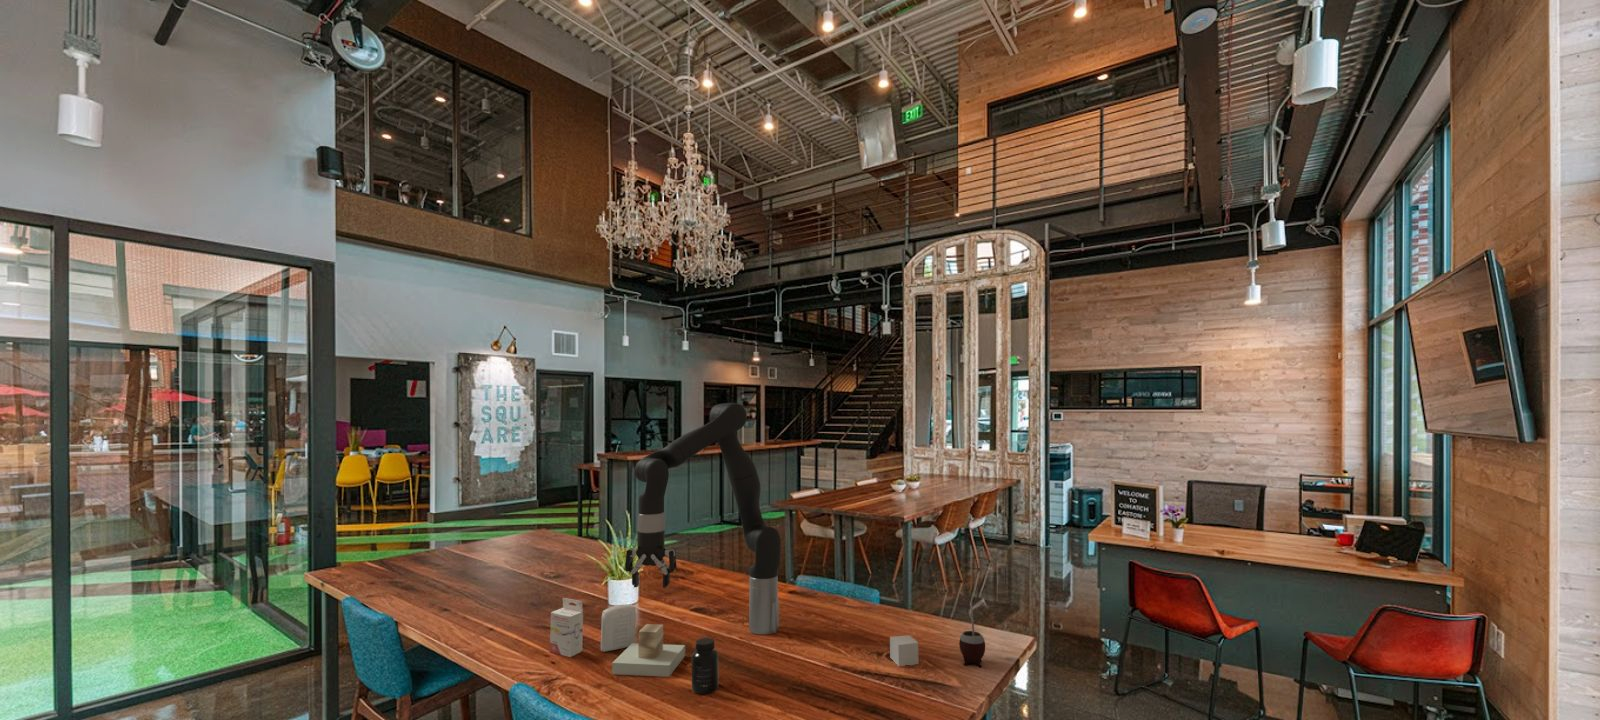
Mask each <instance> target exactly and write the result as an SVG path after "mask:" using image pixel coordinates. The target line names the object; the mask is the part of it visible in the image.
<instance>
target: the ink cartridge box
mask: <svg viewBox="0 0 1600 720" xmlns="http://www.w3.org/2000/svg"><path fill="white" fill-rule="evenodd" d="M572 603H573V604H575V605H573V604H572ZM571 604H572V605H571ZM583 622H584V610H583V602H582V601H581V600H576V599H572V598H566V597H563V598H562V607H561V608H558V609H556V610H553V611H551V612H550V633H549V634H550V636H549V637H550V638H549V653H551V654H555V655H560V656H564V657H569V658H572V657H574V656H576V655H577V654H579V653H582V652H583V638H584V637H583V633H584V631H583V630H584V625H583V624H584V623H583Z"/></svg>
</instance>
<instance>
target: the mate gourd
mask: <svg viewBox="0 0 1600 720" xmlns="http://www.w3.org/2000/svg"><path fill="white" fill-rule="evenodd" d="M969 607H970V617H971V619H970V620H971V630H966V631H963V632H962V633H961V635H960V636H959V642H958V644H959V645H958V646H959V651H960V653H961V655H962V657H963V666H964V667H968V666H971V665H973V666H974V667H977V668H978V669H980V668H982V665H981V663H982V661H983V660H982V659H983V657H984V655H985V653H986V642H985V638H984V635H982V633H980V632H978V631H976V630H975V625H974V624H975V621H974V619H975V618H974V615H975V614H974V608H973V602H969Z"/></svg>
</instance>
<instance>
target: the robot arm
mask: <svg viewBox="0 0 1600 720" xmlns="http://www.w3.org/2000/svg"><path fill="white" fill-rule="evenodd" d="M747 417H748V414H747V411H746V409H745V407H744V406H743V405H741V404H740V403H737V402H726V403H718V404H715V405H714V406H712V407H711V410H710V412H709V422H708V423H706V424H704V425H702V426H700V427H697V428H696V429H693V430H691V431H688V432H686V433H684V434H683V435H681V436H680V437H678V438H676V439H675V440H673V441H672V442H671V443H669V444H667V445H666V446H664V447H662V448H660V449H659V450H658V449H657V450H655V451H654V452H652V453H649V454H647V455H646V456H644V457H642V458H641V459H640V460H638V461H637V463H636V464H635V467H634V475H635V478H636V479H637V480H638V481H640V482H642V483H646V484H645V490H644V492H641V494H639V496H638V517H637V525H636V528H637V545H636V546H637V549H634V548H633V547H632V548H629V549H627V550H626V551H625V567H624V570H625V572H626V573H631V585H632V586H633V588H638V587H639V586H640V572H639V570H640V569H641V568H642V566H644V567H645V566H651V567H655V566H657V568H658V569H660V571H661V572H662V573H663V574H662V589H666V588H667V587H668V586H669V585H670V583H671V582H670V581H671V580H670V579H671V575H670V574H671V573H674V572H676V570H677V567H678V566H677V551H676V549H674V548H672V549H670V550H669V549H668V550H666V548H665V545H666V544H665V535H666V533H665V532H666V531H665V527H666V526H665V525H666V524H665V522H666V521H665V520H666V519H665V512H664V511H665V500H664V499H665V494H666V490H667V488H668V482H669V477H670V474H669V472H670V471H669V469H671V468H678V467H679V466H681V465H682V464H684V463H685V462H687V461H688V460H690V459H691V458H693V456H695V455H697V454H698V453H700V452H702V451H703V450H704V449H706V448H707V447H708V446H710V445H712V444H714V443H715V442H717V443H718V447H719V449H720V451H721V455H722V458H723V463H724V465H725V468H726V471H727V475H728V479H729V483H730V487H731V490H732V493H733V496H734V499H735V502H736V505H737V509H738V512H739V516H740V520H741V524H742V525H741V527H742V530H743V535H744V536H743V537H744V542H745V544H746V546H747V548H748V549H749V550H750V551H752V552H753V553H755V560H754V561H755V562H754V564H752V565H751V566H750V567H749V570H748V574H749V577H748V578H749V581H748V582H749V586H748V587H749V590H748V591H749V593H748V594H749V595H748V596H749V599H748V601H749V603H748V604H749V606H748V613H749V615H748V616H749V617H748V621H749V622H748V625H749V626H748V627H749V629H748V630H749V632H750V633H752V634H754V635H771V634H777V632H778V630H779V627H780V597H779V595H778V593H779V592H778V590H779V589H778V588H779V587H778V586H779V585H778V584H779V583H778V580H779V579H778V578H779V577H778V576H779V575H778V573H779V569H780V565H781V550H782V548H781V547H782V544H781V543H782V542H781V541H782V540H781V536H780V532H779V531H778V529H776V528H775V527H773V526H770V525H767V524H766V523H765V521H764V518H763V515H762V511H761V508H760V500H761V499H760V498H761V482H760V481H761V480H760V477H759V474H758V471H757V467H756V465H755V463H754V461H753V459H752V458H751V457H750V455H749V454H748V453H747V451H746V450H745V449H744V448H743V446H742V445H741V443H740V441H739V438H738V435H737V431H739V430H741V429H742V428H743V427H744V426H745V425H746V422H747ZM635 556H637V558H638V561H637V562H636V563H635V565H634V557H635ZM665 556H666V558H667V559H668V560H669V561H668V563H669V564H668V563H667V561H666V560H665V559H664V557H665ZM633 565H634V566H633ZM668 565H669V566H668Z"/></svg>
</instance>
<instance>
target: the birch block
mask: <svg viewBox="0 0 1600 720" xmlns="http://www.w3.org/2000/svg"><path fill="white" fill-rule="evenodd" d="M637 643H638V658H656V657H657V656H658V655H659V654H660V653H661V652H662V650H663V644H664V624H659V623H657V624H653V623H645V625H644V626H643V627H642V628H641V629H640V630H639V631H638V641H637Z"/></svg>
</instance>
